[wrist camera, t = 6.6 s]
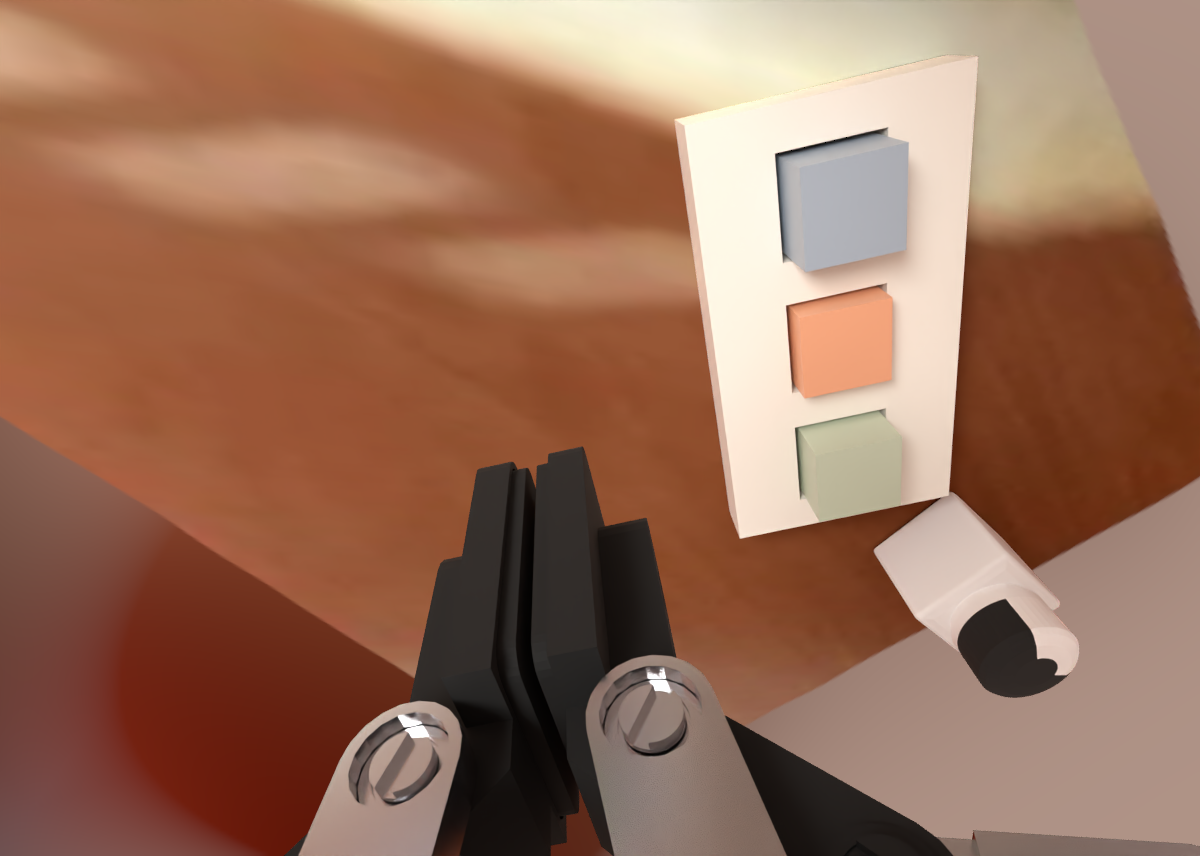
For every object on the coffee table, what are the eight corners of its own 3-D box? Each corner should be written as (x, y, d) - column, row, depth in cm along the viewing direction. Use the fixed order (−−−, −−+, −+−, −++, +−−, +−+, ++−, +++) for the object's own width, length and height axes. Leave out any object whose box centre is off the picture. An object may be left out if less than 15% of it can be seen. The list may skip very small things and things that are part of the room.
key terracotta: (777, 294, 39) (799, 317, 36) (862, 275, 39) (892, 297, 36) (783, 369, 42) (804, 398, 38) (863, 352, 41) (891, 380, 38)
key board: (674, 119, 35) (684, 125, 32) (945, 55, 34) (978, 56, 31) (729, 511, 48) (739, 538, 45) (926, 470, 47) (948, 495, 44)
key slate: (774, 155, 34) (799, 167, 31) (872, 132, 34) (908, 142, 30) (781, 250, 36) (805, 272, 33) (872, 230, 36) (906, 249, 33)
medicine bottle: (923, 592, 53) (1015, 726, 42) (870, 548, 50) (953, 680, 40) (1001, 537, 50) (1118, 665, 40) (949, 488, 48) (1060, 611, 37)
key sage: (793, 421, 42) (815, 455, 39) (872, 404, 42) (902, 436, 38) (798, 484, 44) (819, 521, 41) (873, 469, 44) (900, 505, 41)
